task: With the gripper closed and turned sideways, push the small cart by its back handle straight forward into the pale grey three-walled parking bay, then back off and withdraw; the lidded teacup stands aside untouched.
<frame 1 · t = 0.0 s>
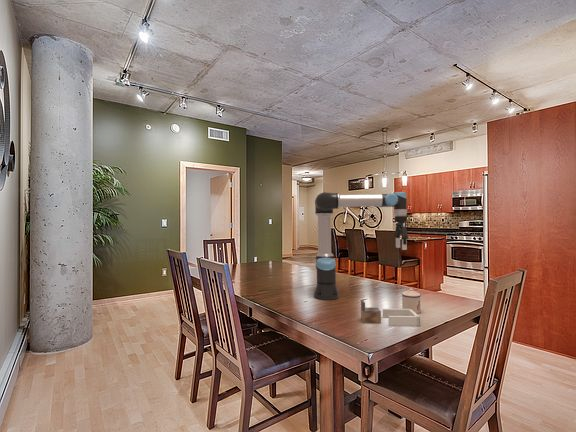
hand: (401, 248, 201), 28 cm above the table, fingers open, 13 cm apart
teacup with lid: (411, 311, 161), on the table
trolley: (370, 321, 146), on the table
bay: (399, 321, 145), on the table
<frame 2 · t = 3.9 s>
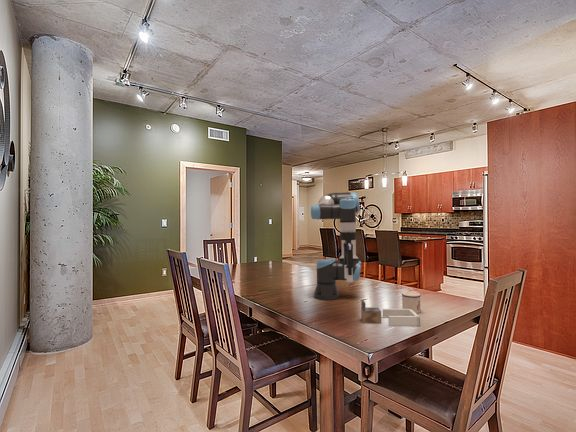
hand: (348, 280, 146), 19 cm above the table, fingers open, 8 cm apart
nothing on the table moved.
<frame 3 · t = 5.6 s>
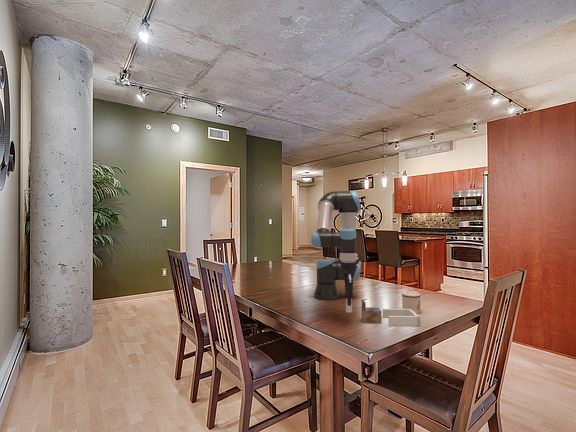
hand: (349, 311, 146), 4 cm above the table, fingers closed
nothing on the table moved.
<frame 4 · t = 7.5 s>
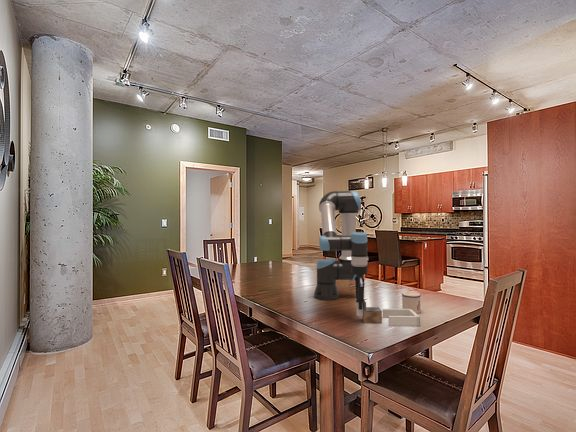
hand: (359, 315, 146), 3 cm above the table, fingers closed
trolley: (371, 321, 146), on the table, touching gripper
everything else where it was.
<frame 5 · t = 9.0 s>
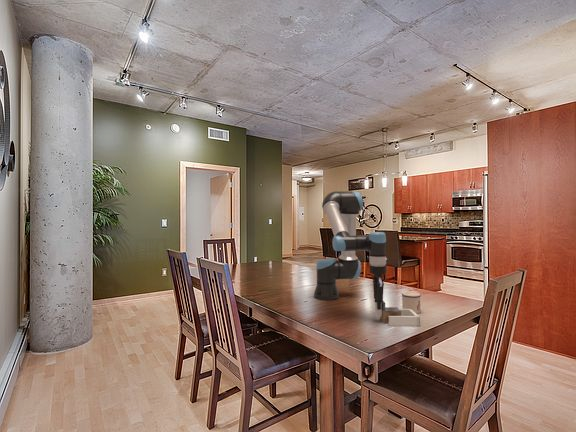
hand: (378, 315, 145), 3 cm above the table, fingers closed
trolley: (390, 321, 145), on the table, touching gripper
everything else where it was.
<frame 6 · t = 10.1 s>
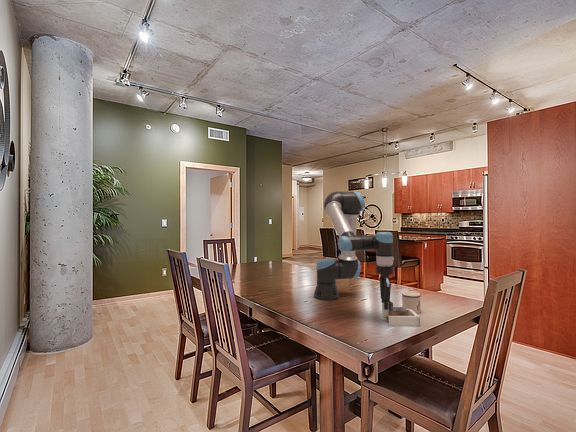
hand: (385, 315, 145), 3 cm above the table, fingers closed
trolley: (397, 321, 145), on the table, touching gripper
everything else where it was.
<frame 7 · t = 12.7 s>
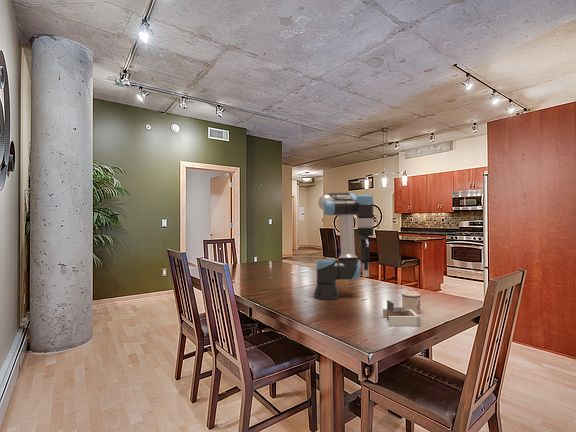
hand: (365, 276, 148), 20 cm above the table, fingers closed
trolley: (397, 321, 145), on the table
everything else where it was.
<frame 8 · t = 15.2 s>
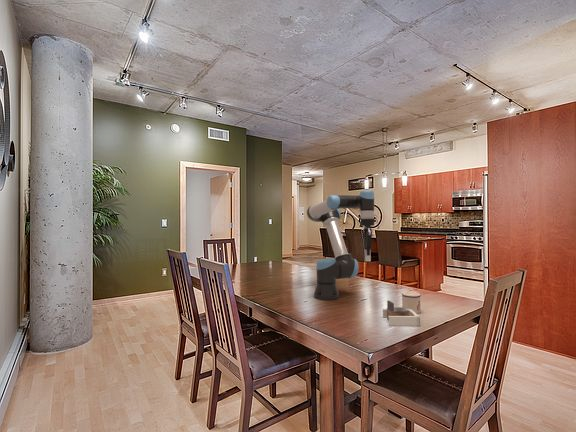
hand: (367, 261, 171), 24 cm above the table, fingers closed
nothing on the table moved.
at the end: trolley inside the target area (1.2 cm from its centre), on the table; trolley tilted 0° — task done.
